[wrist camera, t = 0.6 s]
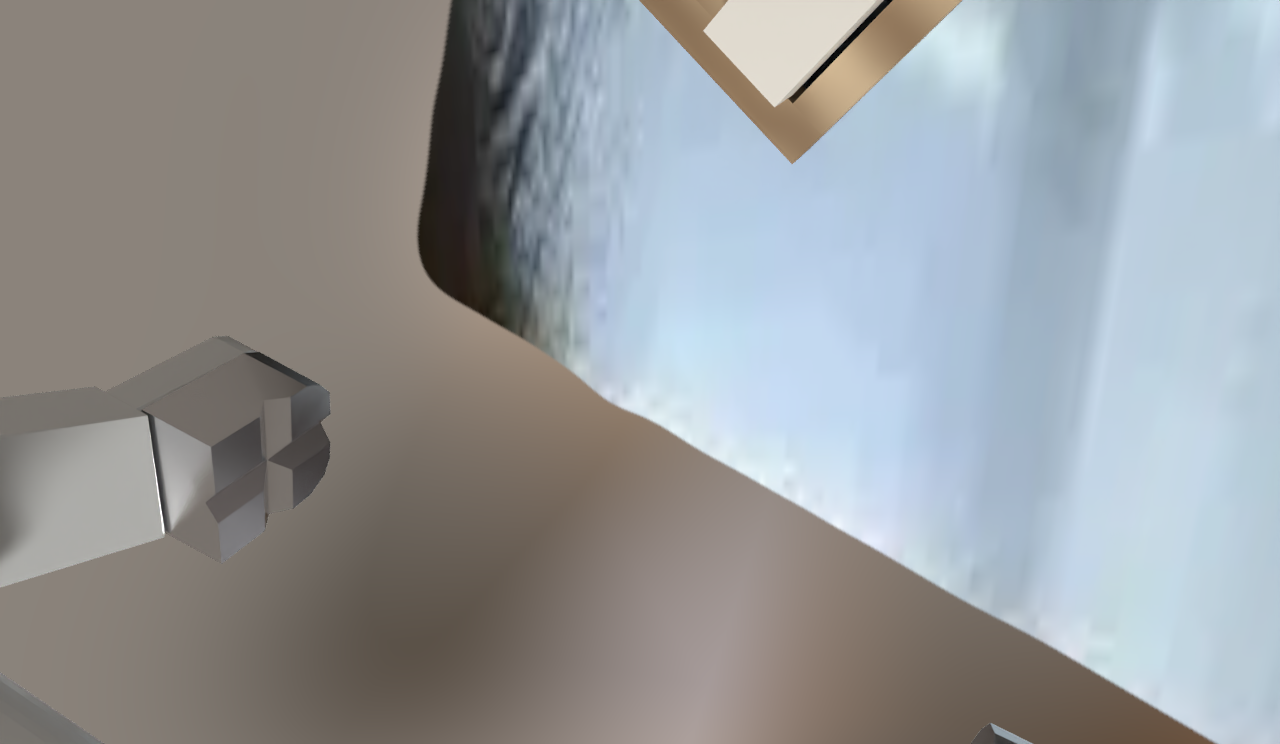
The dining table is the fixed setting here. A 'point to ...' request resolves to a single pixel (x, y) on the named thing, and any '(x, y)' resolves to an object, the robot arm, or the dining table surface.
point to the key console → (809, 113)
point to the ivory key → (784, 38)
